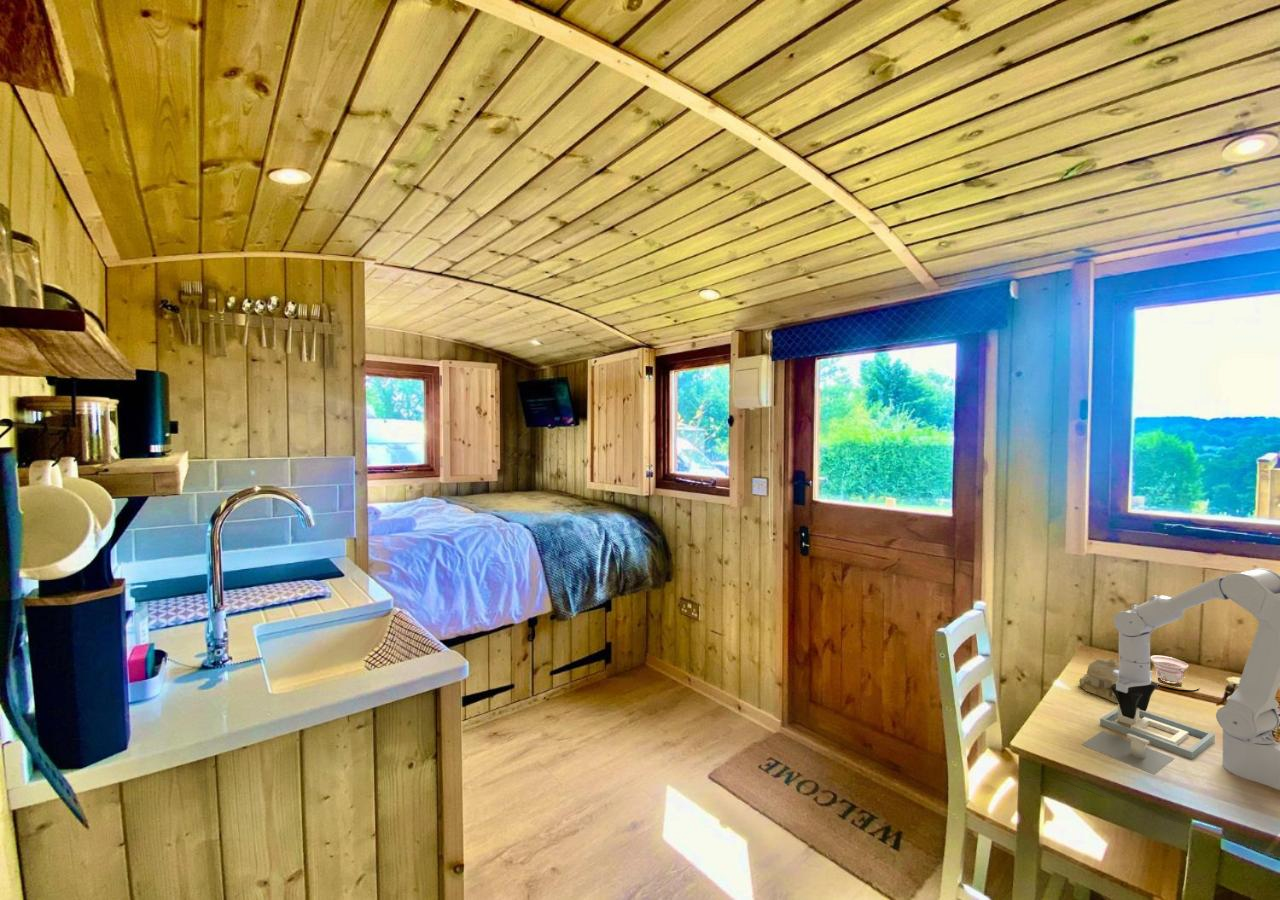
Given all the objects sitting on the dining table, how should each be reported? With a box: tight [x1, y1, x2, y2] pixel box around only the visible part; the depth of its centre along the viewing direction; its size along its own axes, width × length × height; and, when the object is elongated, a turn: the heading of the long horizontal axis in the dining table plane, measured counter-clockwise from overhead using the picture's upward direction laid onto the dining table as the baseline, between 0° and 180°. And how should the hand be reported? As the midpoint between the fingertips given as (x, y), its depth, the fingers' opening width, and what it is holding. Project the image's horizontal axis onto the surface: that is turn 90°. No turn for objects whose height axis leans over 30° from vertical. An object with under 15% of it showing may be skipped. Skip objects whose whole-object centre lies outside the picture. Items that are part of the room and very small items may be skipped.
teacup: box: [1150, 654, 1189, 683], centre depth 156 cm, size 12×12×6 cm
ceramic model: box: [1079, 658, 1119, 705], centre depth 150 cm, size 14×11×10 cm
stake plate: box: [1080, 730, 1175, 775], centre depth 123 cm, size 13×11×5 cm
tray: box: [1099, 707, 1216, 760], centre depth 130 cm, size 17×14×2 cm
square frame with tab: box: [1117, 703, 1190, 746], centre depth 131 cm, size 12×8×4 cm
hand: (1134, 713), depth 133 cm, fingers open, 6 cm apart
